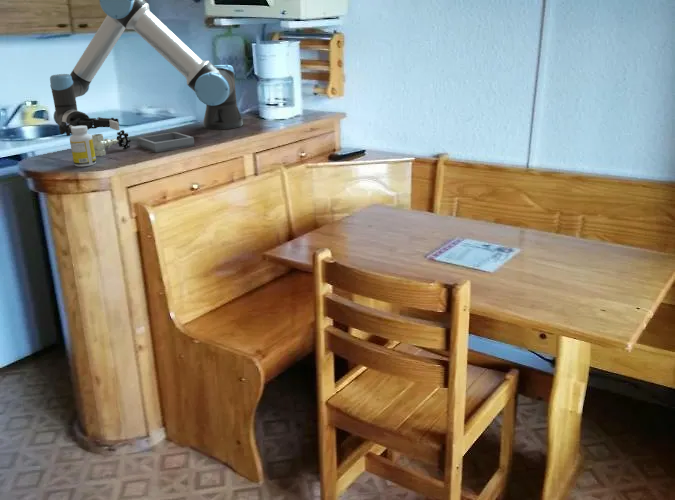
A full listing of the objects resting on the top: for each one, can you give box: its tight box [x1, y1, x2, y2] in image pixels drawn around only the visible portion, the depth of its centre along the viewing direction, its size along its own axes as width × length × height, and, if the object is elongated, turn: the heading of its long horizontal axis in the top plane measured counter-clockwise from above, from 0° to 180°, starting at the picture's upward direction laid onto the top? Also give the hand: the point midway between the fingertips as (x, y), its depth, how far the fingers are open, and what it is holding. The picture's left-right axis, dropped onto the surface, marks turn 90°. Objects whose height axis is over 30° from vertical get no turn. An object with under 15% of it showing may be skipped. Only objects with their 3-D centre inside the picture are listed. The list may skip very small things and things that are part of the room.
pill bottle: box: [69, 126, 97, 168], centre depth 200 cm, size 6×6×12 cm
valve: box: [91, 129, 131, 157], centre depth 216 cm, size 7×7×12 cm
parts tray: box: [137, 131, 195, 154], centre depth 224 cm, size 14×14×3 cm
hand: (98, 129), depth 218 cm, fingers open, 13 cm apart
